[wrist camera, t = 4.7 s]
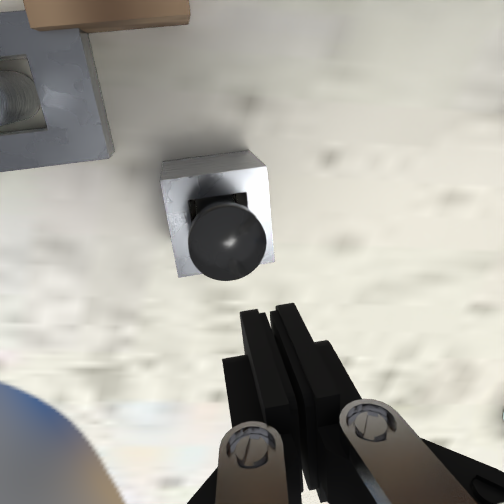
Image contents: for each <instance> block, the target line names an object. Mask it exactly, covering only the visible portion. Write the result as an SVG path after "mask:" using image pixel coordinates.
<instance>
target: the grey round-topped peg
mask: <svg viewBox="0 0 504 504" xmlns="http://www.w3.org/2000/svg"><path fill="white" fill-rule="evenodd" d="M40 105H41V104H40V101H39V97H38V94H37V90H36V87H35V83H34V82H33V81H32V80H31V79H30V78H29V77H27V76H26V75H24V74H22V73H19V72H15V71H4V70H0V126H2V125H6V124H10V123H14V122H18V121H22V120H27V119H29V118H31V117H33V116H34V115H35V114H36V113H37V112H38V110H39V108H40Z"/></svg>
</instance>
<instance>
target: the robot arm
mask: <svg viewBox="0 0 504 504" xmlns="http://www.w3.org/2000/svg"><path fill="white" fill-rule="evenodd" d="M240 319H241V327H242V335H243V343H244V351H245V355H242V356H236V357H231V358H225V359H222V361H223V368H224V375H225V382H226V389H227V395H228V402H229V409H230V416H231V423H232V429H230V430H229V431H228V432H227V433H226V434H225V436H224V437H223V439H222V440H221V444H220V448H219V459H218V467H217V468H216V470H215V471H214V472H213V473H212V474H211V476H210V477H209V478H208V479H207V480H206V481H205V483H204V484H203V485H202V486H201V487H200V489H199V490H198V491H197V492H196V493H195V494H194V496H193V497H192V498H191V499H190V500H189V502H188V503H187V504H302V500H301V492H303V477H302V470H303V473H304V476H305V480H306V483H307V486H308V489H309V490H314V489H316V490H317V493H318V496H319V499H320V502H321V503H322V502H328V503H329V504H504V472H502V471H500V470H498V469H496V468H493V467H491V466H488V465H486V464H484V463H481V462H479V461H476V460H474V459H471V458H469V457H466V456H464V455H461V454H459V453H457V452H454V451H452V450H449V449H447V448H444V447H442V446H439V445H437V444H435V443H432V442H430V441H427V440H425V439H422V438H420V437H419V436H418V435H417V434H416V433H415V432H414V430H413V429H412V428H411V427H410V426H409V425H408V424H407V422H406V421H405V420H404V419H403V418H402V417H401V416H400V414H399V413H398V412H397V411H396V410H394V409H393V408H392V407H391V406H389V405H387V404H385V403H384V402H381V401H377V400H374V399H362V398H361V397H360V395H359V393H358V391H357V390H356V388H355V386H354V384H353V382H352V381H351V379H350V377H349V375H348V374H347V372H346V370H345V368H344V367H343V365H342V363H341V361H340V359H339V358H338V356H337V354H336V352H335V351H334V349H333V347H332V345H331V344H330V342H329V341H327V340H325V341H319V342H314V341H313V339H312V337H311V336H310V334H309V332H308V330H307V328H306V326H305V324H304V322H303V320H302V318H301V316H300V314H299V312H298V310H297V308H296V306H295V304H294V303H289V304H283V305H277V306H276V311H270V321H271V327H270V324H269V322H268V319H267V316H266V314H265V312H264V313H259V312H258V309H254V310H248V311H242V312H240Z"/></svg>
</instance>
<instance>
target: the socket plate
mask: <svg viewBox="0 0 504 504" xmlns="http://www.w3.org/2000/svg"><path fill="white" fill-rule="evenodd" d="M22 58H27V59H28V62H29V66H30V69H31V73H32V76H33V80H34V83H35V87H36V90H37V94H38V97H39V101H40V104H41V108H42V111H43V114H44V118H45V121H46V125H47V128H40V129H31V130H22V131H14V132H5V133H0V172H5V171H13V170H21V169H29V168H37V167H45V166H53V165H61V164H69V163H77V162H85V161H93V160H101V159H109V158H110V157H111V156H112V155H113V154H114V152H115V151H114V146H113V142H112V137H111V133H110V129H109V124H108V120H107V116H106V111H105V107H104V102H103V98H102V94H101V89H100V85H99V81H98V76H97V72H96V68H95V63H94V59H93V54H92V50H91V46H90V41H89V37H88V33H86V32H85V31H83V30H81V29H79V28H73V29H62V30H50V31H37V30H35V29H32V28H30V24H29V20H28V17H27V13H26V11H13V12H1V13H0V60H11V59H22Z"/></svg>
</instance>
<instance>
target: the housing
mask: <svg viewBox="0 0 504 504" xmlns="http://www.w3.org/2000/svg"><path fill="white" fill-rule="evenodd" d="M160 183H161V189H162V194H163V199H164V204H165V210H166V215H167V220H168V225H169V231H170V236H171V241H172V246H173V252H174V257H175V262H176V267H177V273H178V278H179V277H186V276H192V275H198V274H203V273H201V272H200V271H199V270H198V269H197V268H196V267H195V265H194V264H193V262H192V260H191V258H190V255H189V249H188V232H189V228H190V225H191V223H192V215H191V209H190V203H189V200H191V199H198V198H206V197H213V196H220V195H227V194H234V193H236V200H237V204H240V205H243V206H245V207H246V208H248V209H249V210H251V211H252V212H253V213H254V214H255V215H256V217H257V218H258V220H259V221H260V223H261V225H262V226H263V229H264V231H265V234H266V241H267V245H266V251H265V254H264V257H263V259H262V261H261V262H260V264H265V263H271V262H275V259H274V247H273V235H272V222H271V210H270V198H269V186H268V174H267V166H266V165H265V164H264V163H263V162H262V161H261V160H260V159H258V158H257V157H256V156H255V155H254V154H253V153H252V152H251V151H250V150H247V151H240V152H232V153H224V154H216V155H208V156H201V157H193V158H185V159H177V160H169V161H163V165H162V171H161V177H160Z"/></svg>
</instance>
